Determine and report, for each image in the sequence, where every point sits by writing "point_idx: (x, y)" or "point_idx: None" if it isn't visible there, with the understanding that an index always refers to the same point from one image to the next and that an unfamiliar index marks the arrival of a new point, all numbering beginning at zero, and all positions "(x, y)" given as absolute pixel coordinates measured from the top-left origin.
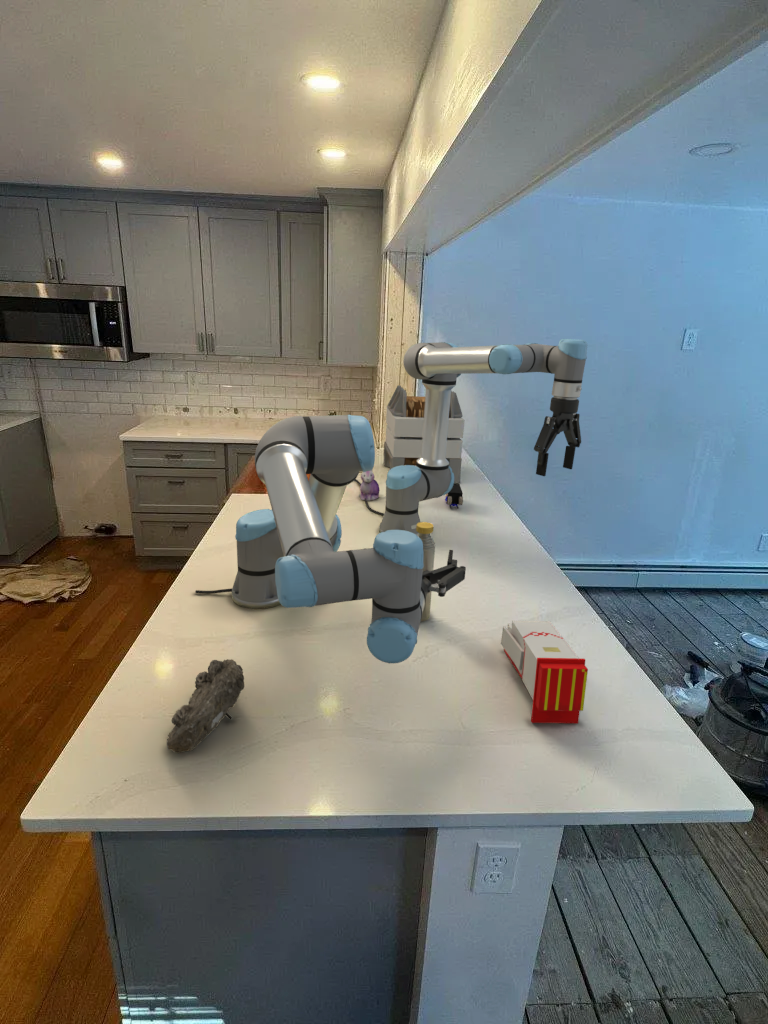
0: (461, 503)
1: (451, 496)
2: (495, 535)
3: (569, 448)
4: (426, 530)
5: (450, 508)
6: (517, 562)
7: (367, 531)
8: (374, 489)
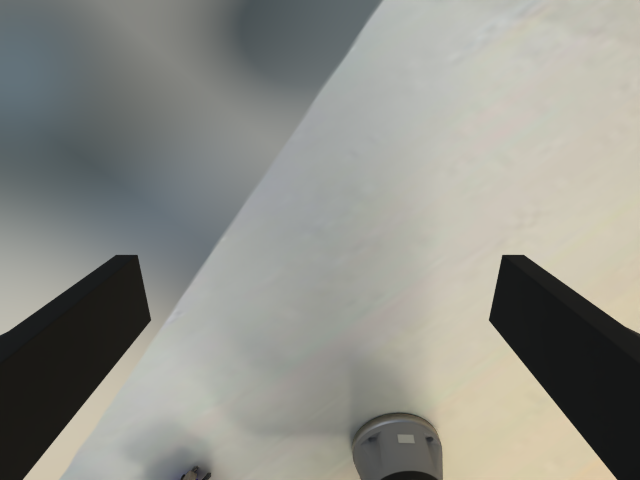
0: (193, 474)
1: None
2: (235, 343)
3: (2, 439)
4: None
5: (210, 473)
6: (315, 227)
7: None
8: None
